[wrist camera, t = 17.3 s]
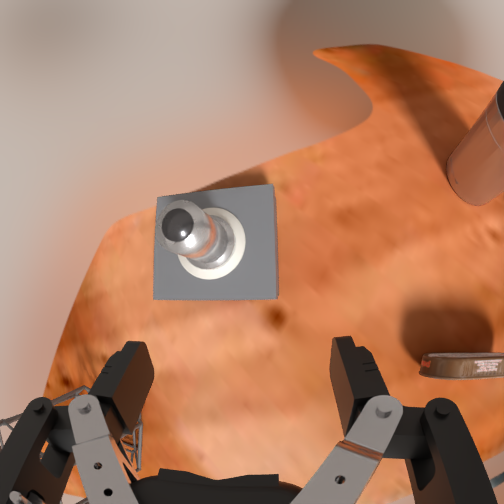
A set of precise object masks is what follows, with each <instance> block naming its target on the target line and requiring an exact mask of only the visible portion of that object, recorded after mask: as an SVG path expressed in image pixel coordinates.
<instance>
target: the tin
mask: <svg viewBox="0 0 504 504" xmlns="http://www.w3.org/2000/svg"><path fill="white" fill-rule="evenodd" d="M419 374H420V375H422V376H425V377H429V378H435V379H445V380H473V379H489V378H502V377H504V353H464V352H455V353H426V354H424V355H423V357H422V362H421V368H420V371H419Z"/></svg>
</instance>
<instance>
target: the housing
mask: <svg viewBox="0 0 504 504" xmlns="http://www.w3.org/2000/svg"><path fill="white" fill-rule="evenodd" d="M155 233H156V238H157V240H158V242H159V244H160V245H161V246H162V247H163V248H164V249H165V250H167V251H170V252H172V253H175V254H178V255H181V256H184V257H186V258H187V260H188V261H189V262H190V263H191V264H192V265H194V266H195V267H197V268H200V269H204V270H214V269H218V268H220V267H222V266H224V265H225V264H226V263H227V262H228V261H229V260H230V259H231V257H232V256H233V254H234V251H235V247H236V236H235V233H234V230H233V228H232V227H231V226H230V225H229V223H227V222H226V221H225V220H224V219H222V218H221V217H218V216H215V215H208V214H207V213H206V212H204V211H203V210H202V209H201V208H199V207H198V206H197V205H195V204H194V203H193V202H190V201H187V200H178V201H174V202H172V203H170V204H168V205H167V206H166V207H165V208H164V209H163V210H162V211H161V213H160V214H159V216H158V218H157V221H156V226H155Z"/></svg>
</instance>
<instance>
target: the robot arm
mask: <svg viewBox="0 0 504 504" xmlns="http://www.w3.org/2000/svg"><path fill="white" fill-rule="evenodd" d="M447 176H448V179H449V182H450V184H451V186H452V188H453V190H454V191H455V192H456V194H457V195H458V196H459V197H460V198H461V199H463V200H464V201H465V202H467V203H469V204H472V205H476V206H480V205H484V204H486V203H488V202H489V201H491V200H492V199H494V198H495V197H497V196H498V195H500V194H501V193H502V192H504V81H503V83H502V84H501V86H500V87H499V89H498V91H497V92H496V94H495V95H494V97H493V98H492V100H491V101H490V103H489V104H488V106H487V107H486V108H485V110H484V111H483V113H482V114H481V115H480V117H479V118H478V120H477V121H476V122H475V124H474V125H473V126H472V128H471V129H470V130H469V132H468V133H467V134H466V136H465V137H464V138H463V140H462V141H461V142H460V143H459V145H458V146H457V147H456V149H455V150H454V151H453V153H452V154H451V155H450V157H449V159H448V162H447ZM330 378H331V382H332V386H333V390H334V395H335V399H336V403H337V407H338V411H339V415H340V420H341V424H342V428H343V433H344V437H345V439H344V440H343V441H342V442H341V441H340V442H338V443H337V445H336V446H335V447H334V449H333V450H332V451H331V453H330V454H329V456H328V457H327V458H326V460H325V461H324V462H323V464H322V465H321V466H320V468H319V469H318V470H317V472H316V473H315V474H314V475H313V477H312V478H311V479H310V480H309V482H308V483H307V484H306V485H305V487H304V488H301V487H299V486H296V485H293V484H290V483H286V482H281V481H279V474H269V475H245V476H239V477H234V478H228V479H222V480H213V479H210V478H206V477H203V476H199V475H196V474H193V473H190V472H186V471H177V470H169V469H162V468H160V469H159V473H158V475H156V476H150V477H146V478H142V479H140V477H139V476H138V474H137V472H136V470H135V468H134V466H133V464H132V462H131V460H130V458H129V456H128V454H127V451H126V449H125V447H124V445H123V442H122V440H121V439H120V438H121V436H122V433H124V434H130V435H132V434H133V431H134V428H135V426H136V423H137V421H138V418H139V416H140V413H141V410H142V408H143V405H144V403H145V400H146V398H147V395H148V393H149V390H150V388H151V385H152V383H153V380H154V368H153V365H152V362H151V359H150V355H149V352H148V349H147V346H146V344H145V342H140V341H127V342H126V344H125V345H124V347H123V349H122V350H121V351H117V352H116V353H115V354H114V355H112V356H111V357H110V358H109V360H108V361H107V363H106V364H105V367H104V368H103V369H102V371H101V373H100V374H99V376H98V378H97V379H96V381H95V383H94V384H93V386H92V388H91V389H90V391H89V393H88V395H81V396H78V397H76V398H75V399H73V400H72V401H71V403H70V404H69V406H54V405H53V403H52V402H51V400H50V399H48V398H46V397H39V398H36V399H34V400H32V401H31V402H30V403H29V405H28V406H27V407H26V409H25V410H24V412H23V414H22V415H21V417H20V419H19V420H18V422H17V424H16V426H15V427H14V429H13V431H12V432H11V434H10V436H9V438H8V439H7V441H6V443H5V445H4V447H3V448H2V450H1V452H0V504H60V501H61V498H62V495H63V492H64V490H65V487H66V484H67V481H68V479H69V476H70V473H71V471H72V468H73V466H74V463H75V461H76V464H77V468H78V471H79V474H80V477H81V481H82V484H83V487H84V490H85V493H86V495H87V498H88V501H89V504H356V502H357V501H358V499H359V497H360V496H361V494H362V492H363V491H364V489H365V488H366V486H367V484H368V483H369V481H370V479H371V477H372V476H373V474H374V472H375V470H376V469H377V467H378V465H379V463H380V461H381V459H382V458H396V459H405V463H406V466H407V470H408V474H409V478H410V482H411V487H412V491H413V495H414V500H415V504H498V503H497V500H496V497H495V494H494V491H493V489H492V486H491V483H490V480H489V478H488V475H487V472H486V470H485V468H484V465H483V462H482V460H481V458H480V455H479V453H478V450H477V448H476V446H475V443H474V441H473V439H472V437H471V434H470V432H469V430H468V428H467V426H466V424H465V421H464V419H463V417H462V415H461V413H460V411H459V409H458V407H457V405H456V404H455V403H454V402H453V401H451V400H449V399H446V398H435V399H433V400H431V401H429V402H428V403H427V405H426V407H425V408H419V407H406V406H402V404H401V403H400V402H399V400H397V399H396V398H394V397H392V396H390V394H389V392H388V390H387V387H386V385H385V383H384V380H383V378H382V376H381V373H380V371H379V370H378V367H377V364H376V363H375V360H374V358H373V355H372V353H371V352H370V351H368V350H367V349H366V348H365V347H364V346H361V347H356V346H355V344H354V342H353V339H352V337H351V336H343V337H334V338H333V340H332V348H331V358H330ZM45 441H47V442H48V443H49V444H48V446H47V448H46V450H45V453H44V455H43V457H42V459H41V461H40V458H39V455H40V452H41V450H42V447H43V445H44V443H45Z"/></svg>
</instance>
